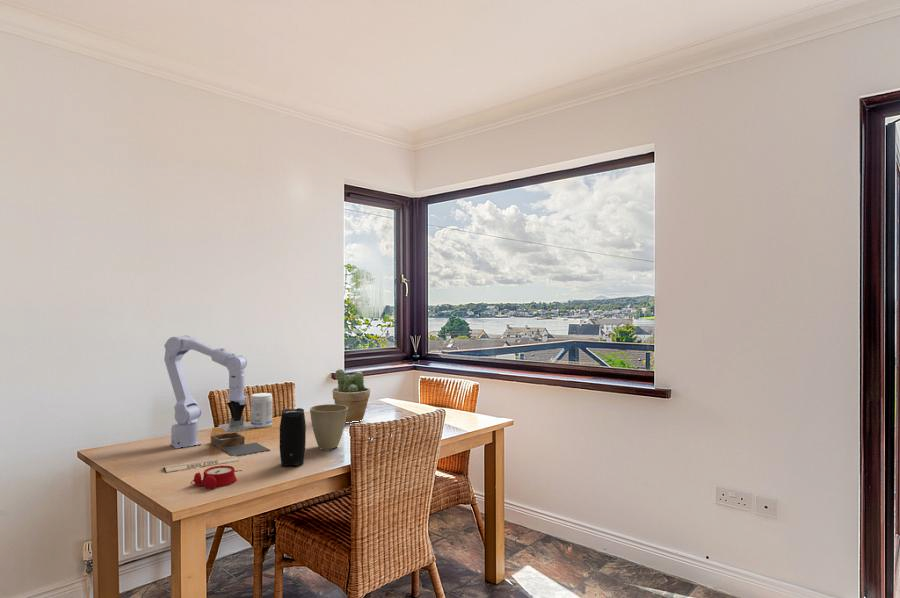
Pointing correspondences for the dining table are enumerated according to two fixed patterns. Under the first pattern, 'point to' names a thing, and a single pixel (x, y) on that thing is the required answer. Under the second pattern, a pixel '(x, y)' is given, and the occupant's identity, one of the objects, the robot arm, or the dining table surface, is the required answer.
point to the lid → (236, 425)
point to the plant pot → (328, 424)
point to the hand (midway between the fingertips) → (236, 420)
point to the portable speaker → (292, 437)
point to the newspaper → (200, 464)
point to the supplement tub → (261, 410)
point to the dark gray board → (245, 449)
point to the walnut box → (227, 439)
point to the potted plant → (351, 394)
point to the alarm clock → (216, 477)
